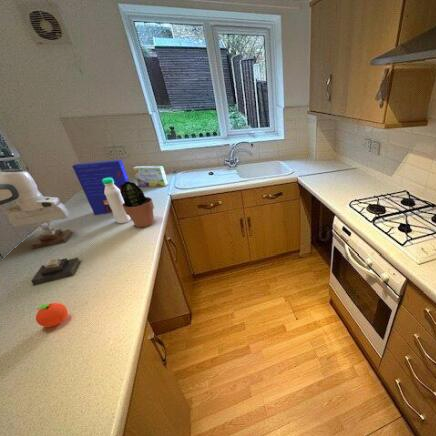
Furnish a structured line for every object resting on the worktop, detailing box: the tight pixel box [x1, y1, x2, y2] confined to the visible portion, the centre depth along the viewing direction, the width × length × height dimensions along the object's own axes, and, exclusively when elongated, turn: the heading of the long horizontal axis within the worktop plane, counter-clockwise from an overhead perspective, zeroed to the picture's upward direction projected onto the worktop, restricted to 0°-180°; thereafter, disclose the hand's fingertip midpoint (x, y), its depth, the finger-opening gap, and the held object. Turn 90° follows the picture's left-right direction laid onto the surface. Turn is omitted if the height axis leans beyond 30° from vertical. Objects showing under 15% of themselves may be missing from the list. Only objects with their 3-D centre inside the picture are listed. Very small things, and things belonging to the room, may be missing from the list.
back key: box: [42, 228, 57, 236], centre depth 116 cm, size 4×4×2 cm
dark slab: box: [30, 257, 81, 286], centre depth 96 cm, size 12×10×4 cm
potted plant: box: [121, 181, 155, 228], centre depth 126 cm, size 14×14×25 cm
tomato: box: [35, 302, 68, 328], centre depth 74 cm, size 8×7×7 cm
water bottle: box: [102, 178, 132, 224], centre depth 130 cm, size 7×7×25 cm
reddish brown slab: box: [31, 228, 73, 250], centre depth 118 cm, size 12×10×4 cm
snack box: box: [132, 165, 169, 187], centre depth 183 cm, size 21×6×15 cm, turn 88°
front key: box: [44, 258, 61, 269], centre depth 95 cm, size 4×4×2 cm
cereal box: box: [72, 158, 130, 216], centre depth 142 cm, size 22×6×30 cm, turn 111°
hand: (47, 229), depth 116 cm, fingers closed
